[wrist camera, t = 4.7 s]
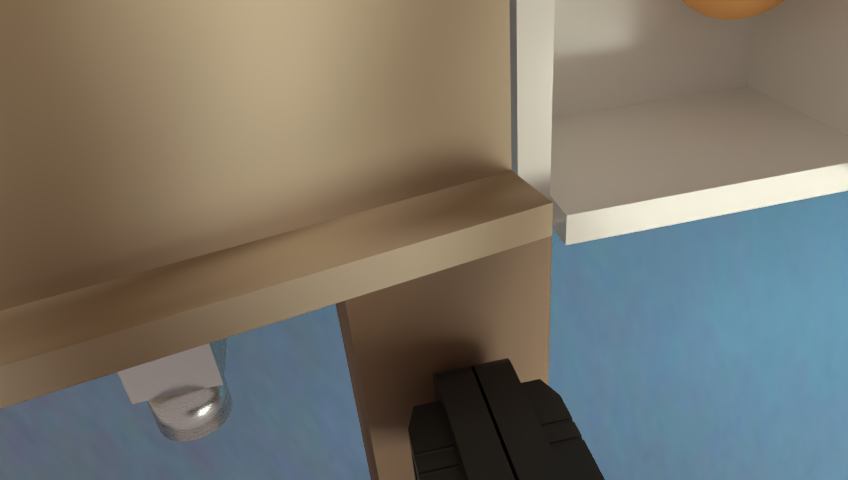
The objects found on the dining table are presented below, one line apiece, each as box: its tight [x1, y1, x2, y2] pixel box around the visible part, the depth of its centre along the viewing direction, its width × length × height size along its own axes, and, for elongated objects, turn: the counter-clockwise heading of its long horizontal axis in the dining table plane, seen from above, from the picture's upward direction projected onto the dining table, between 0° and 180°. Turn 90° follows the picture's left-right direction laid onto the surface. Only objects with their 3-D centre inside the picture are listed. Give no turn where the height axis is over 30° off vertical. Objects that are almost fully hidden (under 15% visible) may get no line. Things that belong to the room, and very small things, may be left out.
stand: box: [118, 338, 233, 441], centre depth 12 cm, size 6×12×9 cm, turn 5°
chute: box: [0, 0, 553, 480], centre depth 11 cm, size 15×13×4 cm
